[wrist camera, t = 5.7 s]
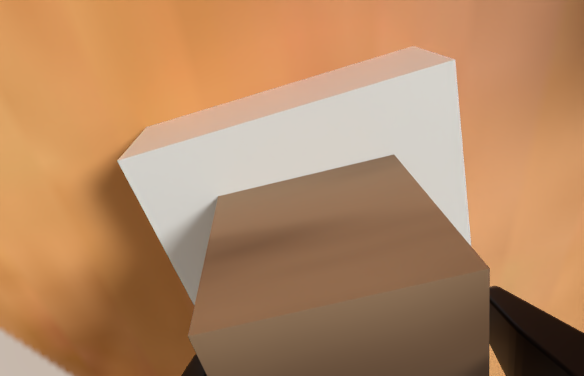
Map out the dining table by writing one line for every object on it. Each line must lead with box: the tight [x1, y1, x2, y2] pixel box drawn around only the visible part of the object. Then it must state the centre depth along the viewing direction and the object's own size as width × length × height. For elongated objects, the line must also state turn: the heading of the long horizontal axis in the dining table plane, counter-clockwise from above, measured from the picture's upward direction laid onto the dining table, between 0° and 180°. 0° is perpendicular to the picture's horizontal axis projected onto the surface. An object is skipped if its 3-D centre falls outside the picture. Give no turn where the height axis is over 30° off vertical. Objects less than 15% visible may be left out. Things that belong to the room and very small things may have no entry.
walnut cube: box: [188, 155, 490, 376], centre depth 10 cm, size 5×5×5 cm
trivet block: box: [117, 46, 471, 306], centre depth 14 cm, size 9×9×4 cm
